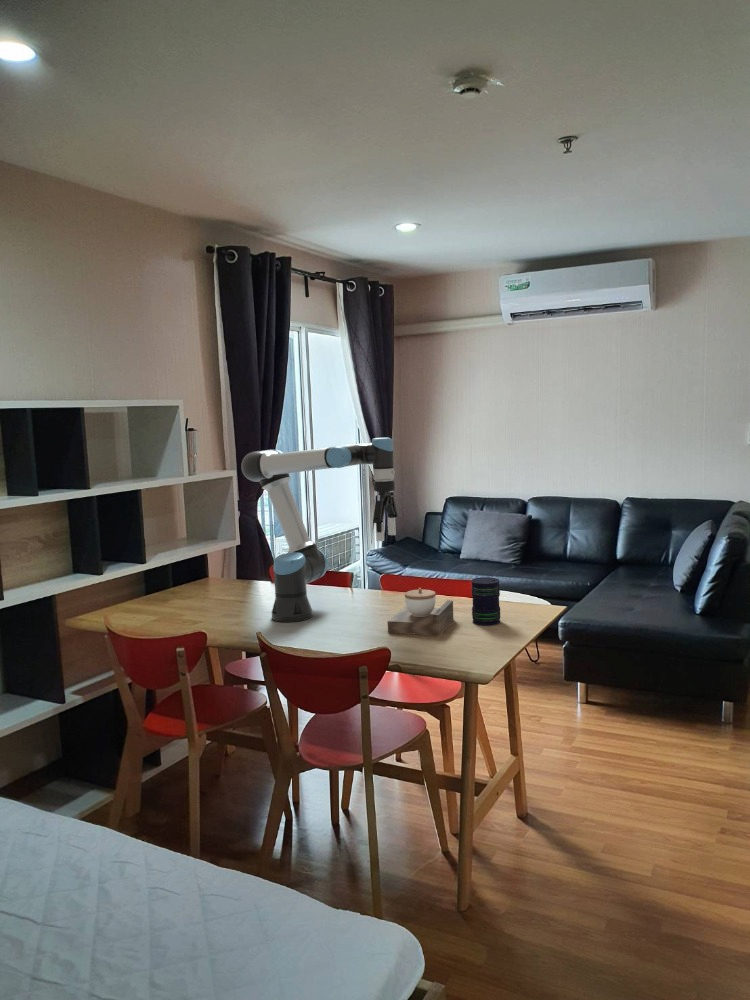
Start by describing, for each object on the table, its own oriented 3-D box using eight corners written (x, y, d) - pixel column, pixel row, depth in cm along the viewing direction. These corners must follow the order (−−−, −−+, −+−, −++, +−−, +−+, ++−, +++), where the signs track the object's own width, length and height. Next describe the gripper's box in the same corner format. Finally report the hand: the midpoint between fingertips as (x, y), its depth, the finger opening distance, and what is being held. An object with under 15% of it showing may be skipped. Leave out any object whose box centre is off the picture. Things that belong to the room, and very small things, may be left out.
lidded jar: (434, 619, 261) (433, 591, 260) (403, 618, 263) (402, 591, 262) (438, 611, 271) (437, 584, 270) (408, 610, 274) (407, 584, 273)
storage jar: (471, 626, 265) (470, 583, 263) (472, 618, 275) (471, 577, 273) (501, 626, 264) (500, 583, 262) (500, 618, 273) (499, 577, 272)
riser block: (388, 632, 261) (387, 612, 261) (405, 617, 280) (404, 598, 279) (439, 635, 255) (438, 614, 255) (453, 619, 274) (452, 600, 273)
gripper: (382, 483, 267) (385, 543, 269) (403, 477, 290) (406, 532, 293) (362, 483, 269) (365, 543, 272) (385, 477, 293) (387, 532, 295)
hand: (386, 538), depth 282 cm, fingers open, 13 cm apart
